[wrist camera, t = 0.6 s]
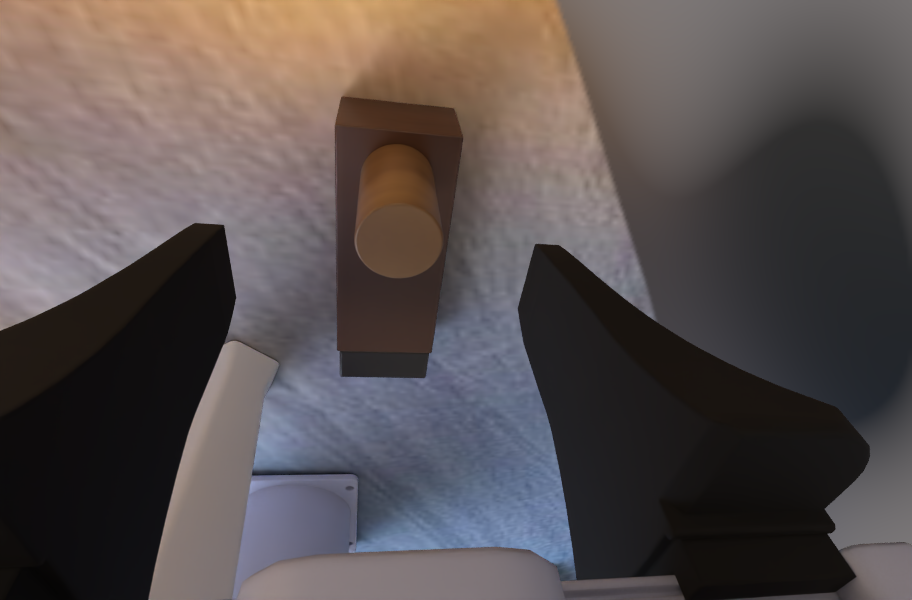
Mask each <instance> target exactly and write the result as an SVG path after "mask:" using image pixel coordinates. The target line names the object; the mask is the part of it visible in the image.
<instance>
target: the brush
mask: <svg viewBox="0 0 912 600" xmlns="http://www.w3.org/2000/svg"><path fill="white" fill-rule="evenodd" d="M462 143H463V135H462V132H461V129H460V125H459V122H458V119H457V116H456V112H455V109H454V108H445V107H436V106H426V105H417V104H407V103H398V102H389V101H379V100H370V99H360V98H351V97H341V101H340V105H339V110H338V114H337V119H336V123H335V185H336V283H337V350H338V351H340V376H341V377H391V378H425V377H426V371H427V364H428V357H429V353H431V352H432V346H433V340H434V333H435V326H436V319H437V313H438V306H439V299H440V292H441V286H442V279H443V272H444V265H445V258H446V252H447V245H448V238H449V231H450V225H451V218H452V211H453V204H454V198H455V191H456V184H457V177H458V171H459V164H460V157H461V150H462Z"/></svg>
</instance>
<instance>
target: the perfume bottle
mask: <svg viewBox="0 0 912 600" xmlns="http://www.w3.org/2000/svg"><path fill="white" fill-rule="evenodd" d="M278 368H279V363H278V362H277V361H275V360H273V359H271V358H270V357H268V356H266V355H264V354H262V353H260V352H258V351H256V350H254V349H252V348H250V347H248V346H246V345H244V344H243V343H241V342H238V341H231V342H228V343H226V344H224V345H223V347H222V349H221V352H220V354H219V357H218V359H217V362H216V364H215V367H214V369H213V372H212V374H211V377H210V379H209V381H208V384H207V386H206V389H205V391H204V394H203V396H202V399H201V401H200V403H199V406H198V408H197V411H196V413H195V416H194V419H193V421H192V424H191V427H190V430H189V433H188V436H187V440H186V444H185V447H184V451H183V454H182V458H181V462H180V465H179V469H178V473H177V476H176V480H175V484H174V488H173V492H172V496H171V500H170V504H169V508H168V512H167V516H166V520H165V525H164V529H163V534H162V538H161V542H160V547H159V551H158V556H157V560H156V564H155V569H154V574H153V579H152V584H151V589H150V594H149V599H148V600H223V599H232V596H233V590H234V584H235V578H236V571H237V565H238V559H239V553H240V546H241V540H242V534H243V527H244V521H245V515H246V509H247V502H248V496H249V490H250V484H251V477H252V471H253V465H254V459H255V452H256V446H257V440H258V433H259V427H260V421H261V415H262V408H263V402H264V398H265V396H266V394H267V393H268V391H269V388H270V386H271V384H272V381H273V379H274V377H275V375H276V372H277V370H278Z"/></svg>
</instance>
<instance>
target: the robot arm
mask: <svg viewBox="0 0 912 600" xmlns="http://www.w3.org/2000/svg"><path fill="white" fill-rule="evenodd" d="M235 301H236V294H235V288H234V282H233V276H232V270H231V264H230V258H229V252H228V246H227V240H226V234H225V228H224V225H216V224H200V223H194V224H192V225H191V226H189V227H187V228H186V229H184V230H182V231H181V232H179V233H178V234H176V235H175V236H173V237H172V238H170V239H169V240H167V241H166V242H164V243H163V244H161V245H160V246H158V247H157V248H155V249H154V250H152V251H151V252H149V253H148V254H146V255H145V256H143V257H142V258H140V259H138V260H137V261H135V262H134V263H132V264H131V265H129V266H128V267H126V268H124V269H123V270H121V271H119V272H118V273H116V274H114V275H113V276H111V277H109V278H107V279H106V280H104V281H102V282H101V283H99V284H97V285H96V286H94V287H92V288H90V289H89V290H87V291H85V292H83V293H82V294H80V295H78V296H76V297H74V298H72V299H70V300H68V301H66V302H64V303H62V304H60V305H58V306H56V307H54V308H52V309H50V310H48V311H45V312H43V313H41V314H39V315H37V316H35V317H33V318H30V319H28V320H26V321H24V322H21V323H19V324H16V325H14V326H11V327H9V328H6V329H4V330H1V331H0V600H148V599H149V594H150V589H151V584H152V579H153V574H154V569H155V564H156V560H157V556H158V551H159V547H160V542H161V538H162V534H163V529H164V525H165V520H166V516H167V512H168V508H169V504H170V500H171V496H172V492H173V488H174V484H175V480H176V476H177V473H178V469H179V465H180V462H181V458H182V454H183V451H184V447H185V444H186V440H187V436H188V433H189V430H190V427H191V424H192V421H193V419H194V416H195V413H196V411H197V408H198V406H199V403H200V401H201V399H202V396H203V394H204V391H205V389H206V386H207V384H208V381H209V379H210V377H211V374H212V372H213V369H214V367H215V364H216V362H217V359H218V357H219V354H220V352H221V349H222V347H223V344H224V342H225V339H226V337H227V334H228V330H229V326H230V322H231V318H232V314H233V310H234V305H235ZM518 313H519V319H520V326H521V331H522V337H523V342H524V345H525V349H526V352H527V355H528V358H529V361H530V364H531V368H532V371H533V374H534V377H535V380H536V383H537V386H538V389H539V392H540V395H541V398H542V401H543V404H544V407H545V410H546V413H547V416H548V420H549V423H550V427H551V431H552V435H553V440H554V445H555V450H556V454H557V459H558V464H559V469H560V475H561V480H562V486H563V491H564V497H565V502H566V509H567V515H568V522H569V528H570V535H571V541H572V548H573V555H574V563H575V571H576V579H577V580H575V581H560V577H559V573H558V569H557V566H555V565H554V564H552V563H551V562H549V561H547V560H546V559H544V558H542V557H541V556H539V555H537V554H536V553H534V552H532V551H530V550H525V549H514V548H504V547H481V548H457V549H433V550H409V551H385V552H360V553H353V552H354V551H355V550H356V534H357V503H358V477H357V476H356V475H353V474H325V475H259V476H252V477H251V484H250V490H249V496H248V502H247V509H246V515H245V521H244V527H243V534H242V540H241V546H240V553H239V559H238V565H237V571H236V578H235V584H234V590H233V596H232V599H223V600H912V545H911V544H908V543H905V542H896V543H874V544H858V545H853V546H849V547H847V548H843V549H841V550H838V549H837V547H836V546H835V544H834V543H833V542H832V540H831V539H830V537H829V536H828V534H827V533H832V532H833V531H834V530H835V524H834V522H833V521H832V519H831V518H830V517H829V515H828V514H827V512H826V511H825V508H826V507H827V506H828V505H829V504H830V503H831V502H832V501H834V500H835V499H836V498H837V497H838V496H839V495H840V494H841V493H842V492H843V491H844V490H845V489H847V488H848V487H849V486H850V485H851V484H852V483H853V482H854V481H855V480H856V479H857V478H858V476H860V474H861V473H862V472H863V471H864V469H865V467H866V465H867V463H868V461H869V457H870V447H869V445H868V444H867V443H866V441H865V440H864V439H863V437H862V436H861V435H860V434H859V433H858V432H857V430H856V429H855V428H854V427H853V426H852V425H851V423H850V422H849V421H848V420H847V419H846V417H845V416H844V415H843V414H842V413H841V411H840V410H839V409H838V408H836V407H835V406H832V405H829V404H826V403H824V402H821V401H818V400H816V399H813V398H810V397H807V396H805V395H802V394H799V393H797V392H794V391H791V390H788V389H786V388H783V387H780V386H778V385H775V384H773V383H771V382H769V381H766V380H764V379H762V378H759V377H757V376H755V375H752V374H750V373H748V372H745V371H743V370H741V369H739V368H737V367H735V366H733V365H731V364H728V363H727V362H724V361H723V360H721V359H719V358H717V357H715V356H713V355H711V354H709V353H707V352H705V351H704V350H702V349H700V348H698V347H696V346H694V345H693V344H691V343H689V342H687V341H686V340H684V339H682V338H681V337H679V336H678V335H676V334H674V333H673V332H671V331H670V330H668V329H666V328H665V327H663V326H662V325H660V324H659V323H657V322H656V321H654V320H653V319H651V318H650V317H648V316H647V315H645V314H644V313H643V312H641V311H640V310H639V309H637V308H636V307H635V306H633V305H632V304H631V303H629V302H628V301H627V300H625V299H624V298H623V297H622V296H620V295H619V294H618V293H616V292H615V291H614V290H613V289H612V288H610V287H609V286H608V285H607V284H606V283H604V282H603V281H602V280H601V279H600V278H598V277H597V276H596V275H595V274H594V273H593V272H591V271H590V270H589V269H588V268H587V267H586V266H584V265H583V264H582V263H581V262H580V261H578V260H577V259H576V258H575V257H574V256H573V255H571V254H570V253H569V252H568V251H566V250H565V249H564V248H562V247H561V246H559V245H547V244H535V246H534V250H533V254H532V258H531V261H530V265H529V269H528V272H527V276H526V280H525V284H524V287H523V291H522V295H521V298H520V302H519V306H518Z"/></svg>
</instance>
